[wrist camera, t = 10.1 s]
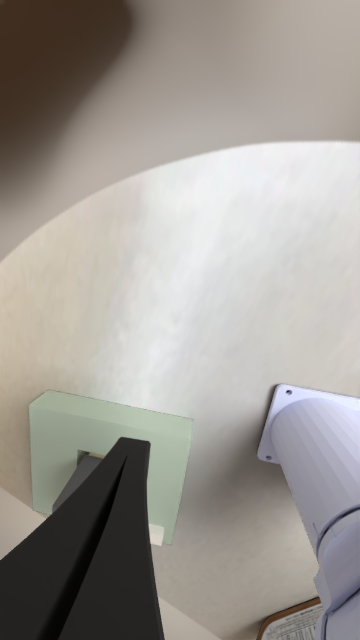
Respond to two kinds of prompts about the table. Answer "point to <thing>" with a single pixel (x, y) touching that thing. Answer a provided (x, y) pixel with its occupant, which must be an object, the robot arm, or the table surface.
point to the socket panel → (107, 450)
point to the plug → (78, 477)
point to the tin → (293, 623)
